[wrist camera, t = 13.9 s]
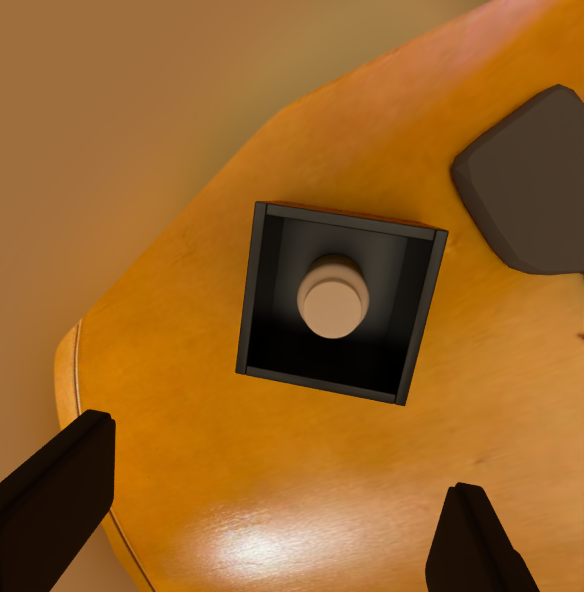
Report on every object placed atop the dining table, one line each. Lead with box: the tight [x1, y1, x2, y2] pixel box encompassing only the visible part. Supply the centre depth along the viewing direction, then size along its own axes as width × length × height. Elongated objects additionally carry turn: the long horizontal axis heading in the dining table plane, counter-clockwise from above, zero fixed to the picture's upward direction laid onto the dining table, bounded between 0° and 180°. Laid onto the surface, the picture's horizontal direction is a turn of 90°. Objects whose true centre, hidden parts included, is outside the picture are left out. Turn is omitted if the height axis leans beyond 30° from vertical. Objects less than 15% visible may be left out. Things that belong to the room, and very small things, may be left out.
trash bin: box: [235, 201, 449, 406], centre depth 31 cm, size 13×13×10 cm
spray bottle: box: [451, 84, 584, 341], centre depth 31 cm, size 3×11×25 cm
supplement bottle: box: [297, 254, 369, 338], centre depth 30 cm, size 5×5×10 cm
